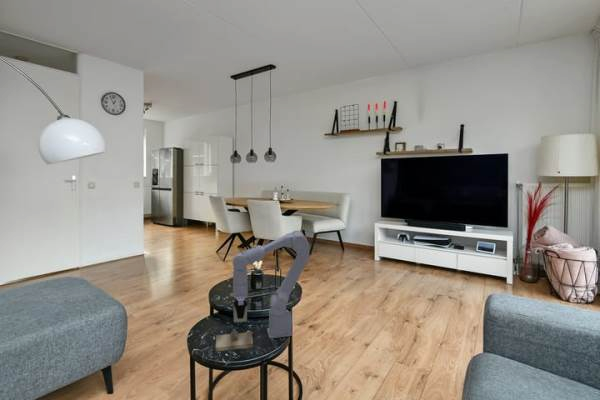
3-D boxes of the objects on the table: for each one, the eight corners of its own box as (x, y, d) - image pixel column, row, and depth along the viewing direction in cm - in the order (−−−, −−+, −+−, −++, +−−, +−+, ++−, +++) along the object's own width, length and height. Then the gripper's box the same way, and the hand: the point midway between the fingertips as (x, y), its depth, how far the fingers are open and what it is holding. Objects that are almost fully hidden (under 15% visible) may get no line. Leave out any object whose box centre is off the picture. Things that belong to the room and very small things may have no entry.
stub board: (251, 335, 128) (251, 324, 128) (253, 347, 120) (253, 335, 119) (216, 339, 125) (216, 328, 125) (215, 351, 116) (215, 340, 116)
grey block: (246, 315, 131) (246, 302, 131) (246, 321, 126) (246, 308, 126) (233, 316, 130) (233, 303, 130) (233, 322, 125) (233, 309, 125)
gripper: (230, 277, 133) (230, 308, 134) (230, 290, 119) (230, 324, 120) (246, 276, 135) (246, 307, 136) (248, 288, 121) (248, 322, 122)
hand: (240, 315), depth 128 cm, fingers closed on grey block, 5 cm apart
